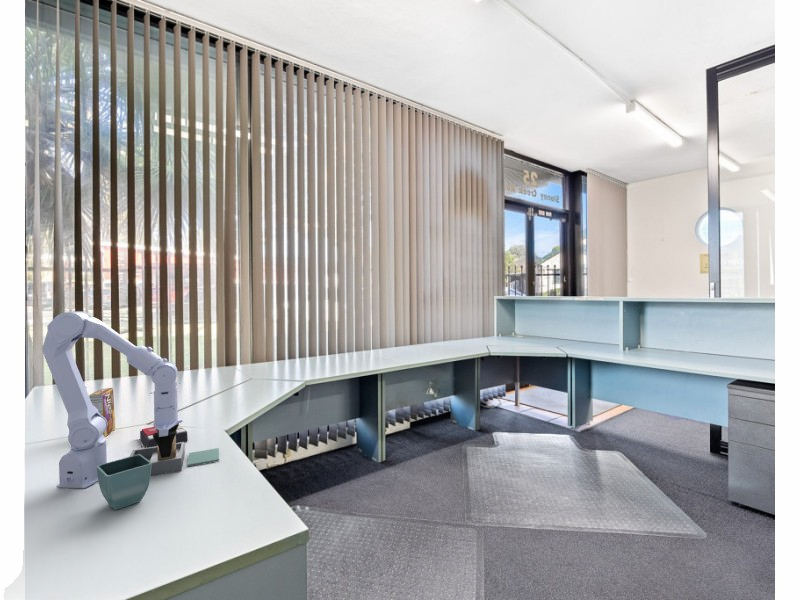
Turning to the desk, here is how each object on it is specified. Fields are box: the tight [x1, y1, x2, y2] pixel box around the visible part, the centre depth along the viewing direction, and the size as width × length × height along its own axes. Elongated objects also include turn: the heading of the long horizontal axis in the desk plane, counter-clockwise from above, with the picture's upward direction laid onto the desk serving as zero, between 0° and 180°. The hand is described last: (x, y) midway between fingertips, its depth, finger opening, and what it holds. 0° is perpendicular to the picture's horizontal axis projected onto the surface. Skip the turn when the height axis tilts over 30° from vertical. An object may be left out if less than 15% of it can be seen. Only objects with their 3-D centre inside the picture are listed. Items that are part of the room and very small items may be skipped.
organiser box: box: [129, 442, 186, 478], centre depth 107 cm, size 13×13×4 cm
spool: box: [157, 435, 176, 461], centre depth 108 cm, size 4×4×6 cm
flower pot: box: [96, 454, 152, 511], centre depth 88 cm, size 9×9×9 cm
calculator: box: [139, 425, 189, 448], centre depth 127 cm, size 11×4×15 cm
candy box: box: [88, 387, 116, 438], centre depth 133 cm, size 9×4×15 cm, turn 17°
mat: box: [186, 447, 220, 468], centre depth 112 cm, size 8×9×1 cm
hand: (166, 453), depth 108 cm, fingers closed on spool, 4 cm apart
